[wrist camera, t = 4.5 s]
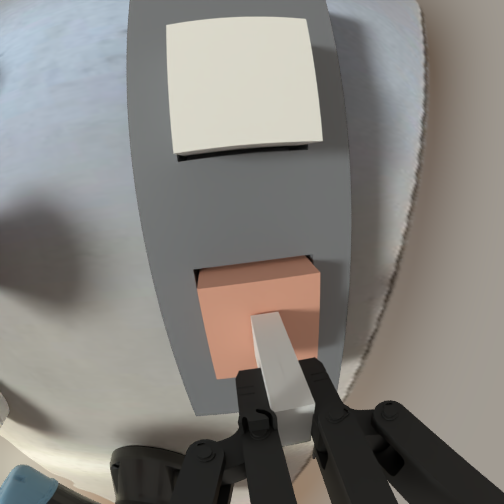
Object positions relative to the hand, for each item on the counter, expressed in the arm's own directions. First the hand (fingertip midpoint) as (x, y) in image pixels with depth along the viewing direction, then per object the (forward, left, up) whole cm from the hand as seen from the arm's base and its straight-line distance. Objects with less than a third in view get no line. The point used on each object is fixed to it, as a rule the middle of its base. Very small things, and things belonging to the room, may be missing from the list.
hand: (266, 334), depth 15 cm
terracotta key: (0, 0, -4) cm, 4 cm away
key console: (+6, 0, -7) cm, 10 cm away
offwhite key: (+13, 0, -3) cm, 13 cm away
